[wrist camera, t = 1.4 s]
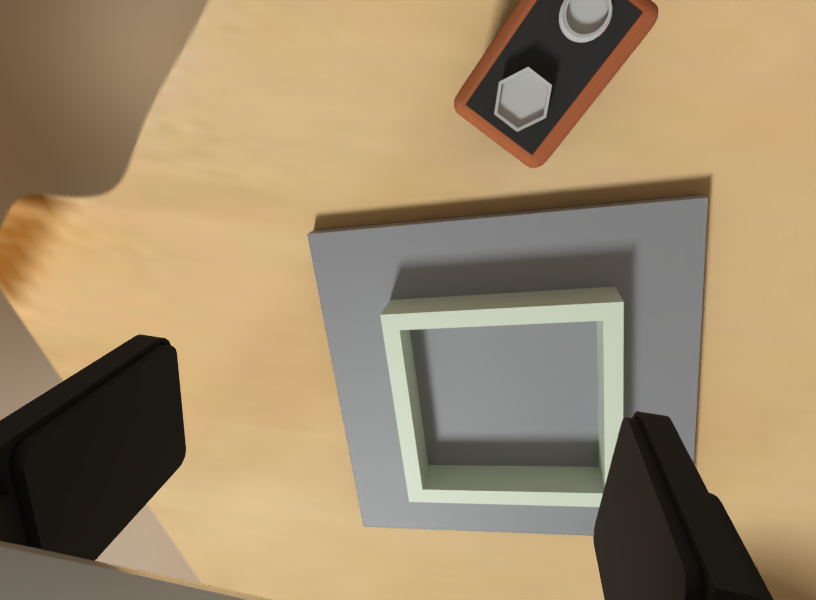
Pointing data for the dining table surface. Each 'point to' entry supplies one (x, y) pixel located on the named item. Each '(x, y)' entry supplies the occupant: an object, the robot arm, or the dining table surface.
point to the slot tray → (509, 356)
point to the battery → (550, 70)
